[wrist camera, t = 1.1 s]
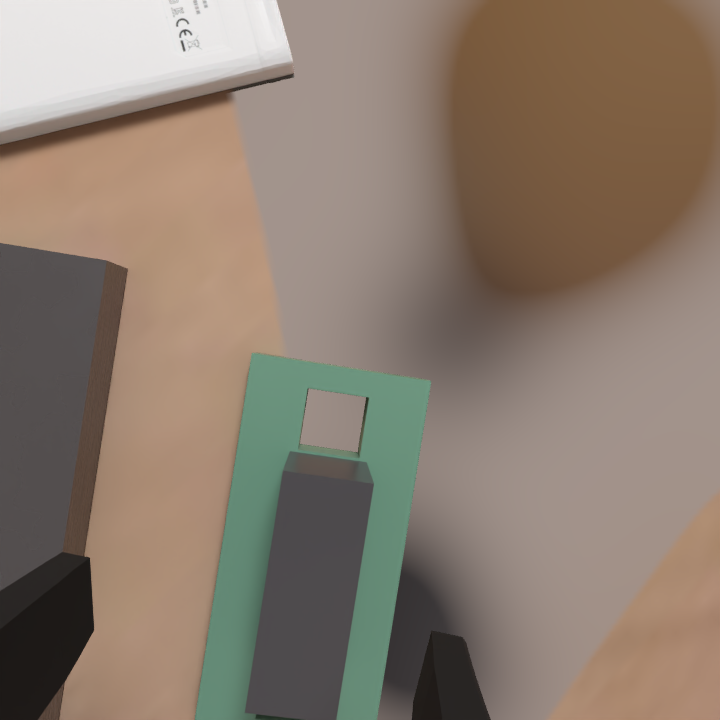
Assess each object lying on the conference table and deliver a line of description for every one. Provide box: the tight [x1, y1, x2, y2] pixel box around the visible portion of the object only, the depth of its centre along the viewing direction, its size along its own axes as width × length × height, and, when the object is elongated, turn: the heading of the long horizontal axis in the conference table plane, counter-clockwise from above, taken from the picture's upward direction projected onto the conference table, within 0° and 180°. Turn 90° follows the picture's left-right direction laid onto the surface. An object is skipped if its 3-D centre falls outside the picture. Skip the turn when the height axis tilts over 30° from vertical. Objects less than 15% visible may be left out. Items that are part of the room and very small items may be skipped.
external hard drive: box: [0, 0, 294, 145], centre depth 21 cm, size 2×8×12 cm
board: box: [195, 353, 431, 720], centre depth 20 cm, size 15×7×4 cm, turn 171°
